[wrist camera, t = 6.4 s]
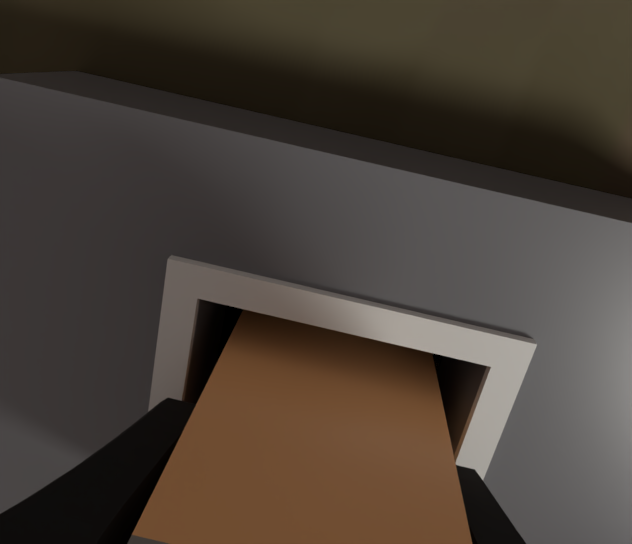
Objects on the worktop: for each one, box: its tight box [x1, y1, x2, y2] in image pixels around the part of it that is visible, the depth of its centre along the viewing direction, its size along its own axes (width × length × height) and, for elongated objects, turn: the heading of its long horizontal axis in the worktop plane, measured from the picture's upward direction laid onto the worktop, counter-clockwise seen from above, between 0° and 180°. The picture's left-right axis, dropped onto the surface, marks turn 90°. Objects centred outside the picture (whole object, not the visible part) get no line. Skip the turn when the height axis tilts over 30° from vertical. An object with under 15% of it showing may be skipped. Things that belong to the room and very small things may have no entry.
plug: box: [127, 309, 472, 544], centre depth 10 cm, size 4×4×7 cm
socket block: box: [0, 71, 632, 544], centre depth 12 cm, size 13×11×3 cm
